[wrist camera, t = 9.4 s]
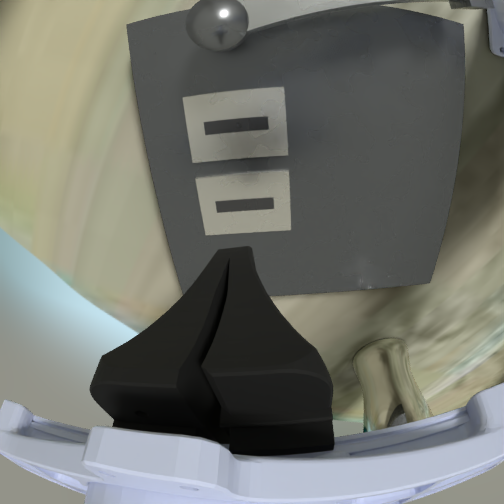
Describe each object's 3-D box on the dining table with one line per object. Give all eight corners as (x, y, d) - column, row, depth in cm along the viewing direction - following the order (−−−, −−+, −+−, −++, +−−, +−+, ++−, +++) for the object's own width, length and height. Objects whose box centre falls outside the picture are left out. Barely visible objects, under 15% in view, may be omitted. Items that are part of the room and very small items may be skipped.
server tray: (441, 25, 12) (480, 24, 9) (418, 263, 22) (438, 298, 19) (143, 28, 14) (112, 22, 10) (190, 276, 24) (179, 316, 20)
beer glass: (369, 330, 27) (405, 484, 15) (422, 338, 28) (465, 468, 15) (336, 371, 31) (354, 504, 18) (388, 376, 32) (414, 493, 19)
